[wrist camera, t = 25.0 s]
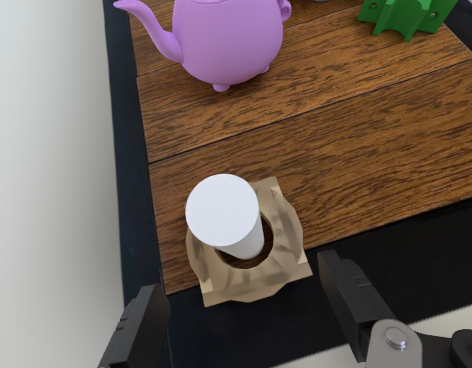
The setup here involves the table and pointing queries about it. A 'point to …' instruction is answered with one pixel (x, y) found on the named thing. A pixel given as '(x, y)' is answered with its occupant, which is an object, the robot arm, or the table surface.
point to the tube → (226, 216)
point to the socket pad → (265, 274)
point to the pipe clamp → (406, 15)
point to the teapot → (218, 36)
